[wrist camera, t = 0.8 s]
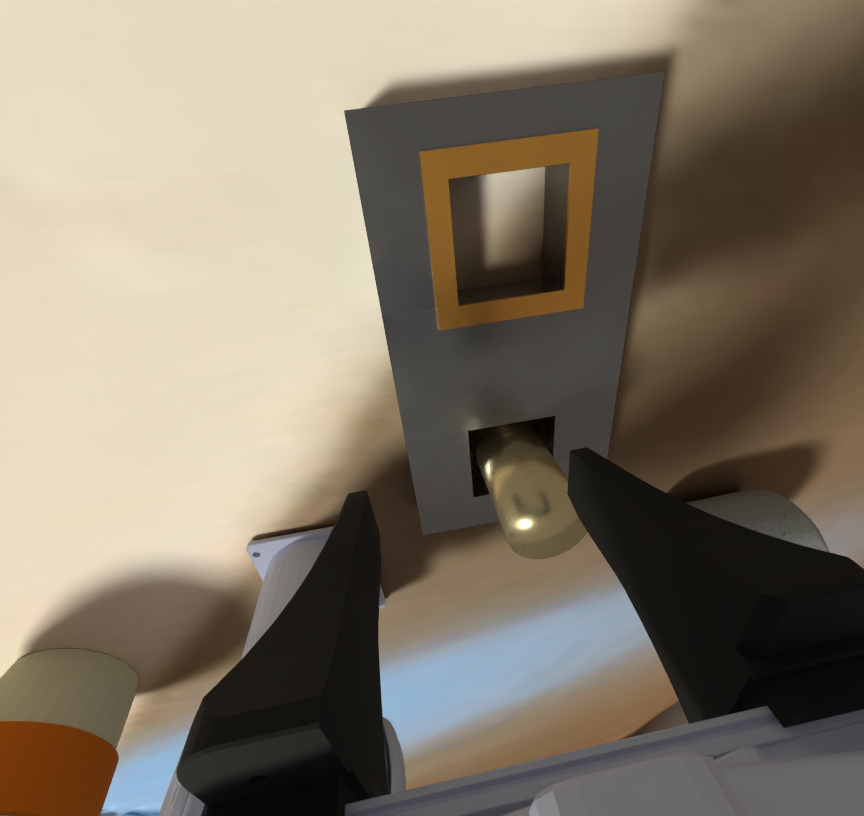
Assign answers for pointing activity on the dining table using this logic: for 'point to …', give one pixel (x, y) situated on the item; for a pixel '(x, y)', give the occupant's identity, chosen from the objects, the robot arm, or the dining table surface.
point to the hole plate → (509, 303)
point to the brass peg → (527, 490)
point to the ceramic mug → (765, 515)
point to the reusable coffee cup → (61, 731)
